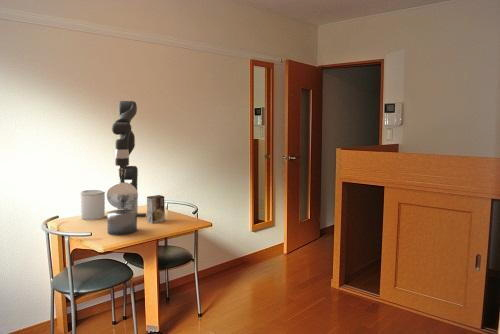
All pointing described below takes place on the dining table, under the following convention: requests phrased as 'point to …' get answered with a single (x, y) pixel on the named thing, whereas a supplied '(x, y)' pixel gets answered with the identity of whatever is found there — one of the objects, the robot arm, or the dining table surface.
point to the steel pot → (122, 221)
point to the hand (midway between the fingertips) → (122, 186)
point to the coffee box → (155, 209)
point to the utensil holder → (92, 204)
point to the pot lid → (122, 195)
